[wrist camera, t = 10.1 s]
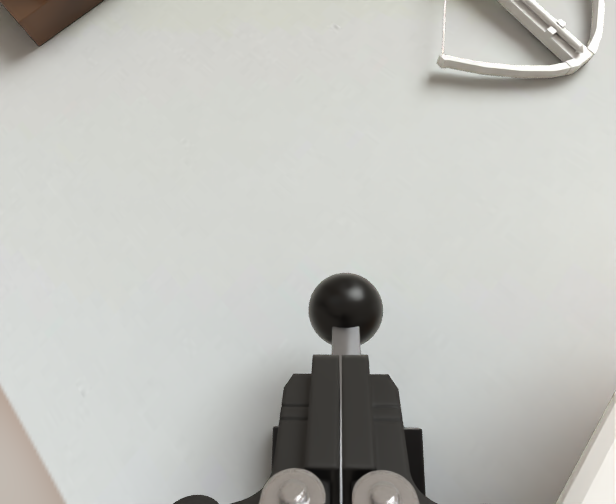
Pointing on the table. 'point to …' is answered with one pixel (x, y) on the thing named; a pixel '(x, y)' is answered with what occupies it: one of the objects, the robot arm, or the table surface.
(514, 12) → the crossbow
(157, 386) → the table surface
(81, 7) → the button block
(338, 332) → the lever
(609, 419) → the bowl
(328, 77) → the table surface
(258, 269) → the table surface
